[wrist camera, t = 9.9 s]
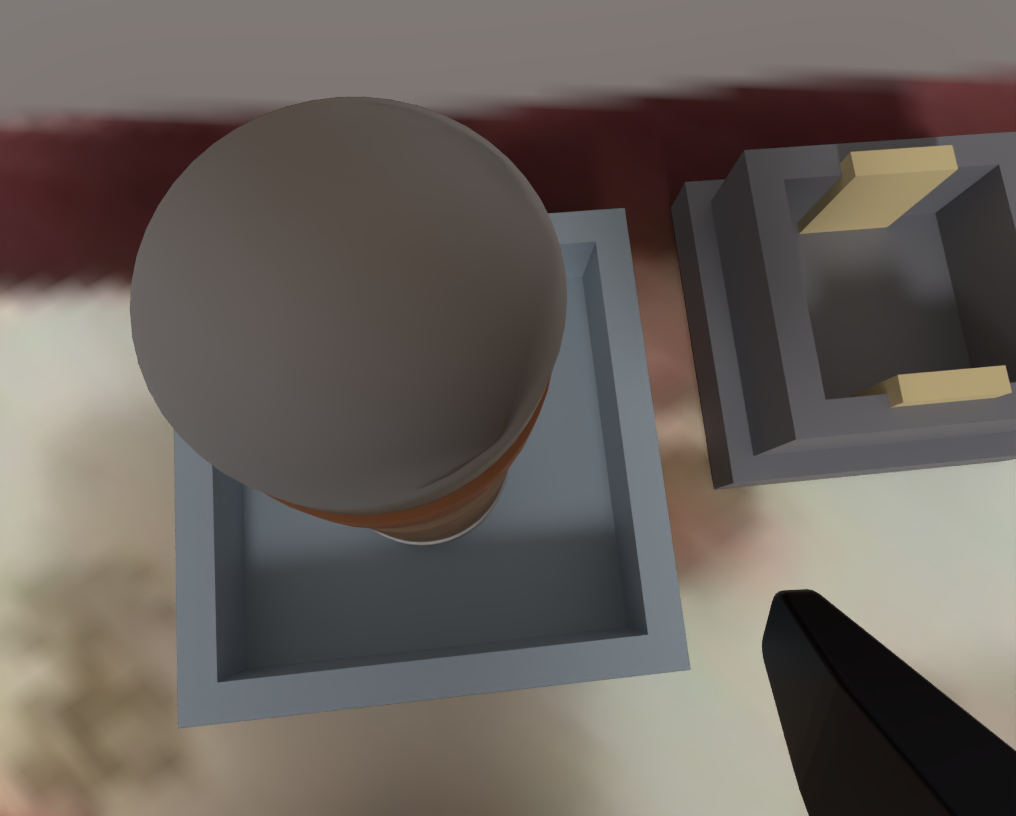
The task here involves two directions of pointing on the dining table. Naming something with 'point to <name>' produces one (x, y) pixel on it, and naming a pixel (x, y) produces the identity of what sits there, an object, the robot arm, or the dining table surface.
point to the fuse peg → (354, 313)
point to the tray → (452, 551)
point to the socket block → (854, 307)
